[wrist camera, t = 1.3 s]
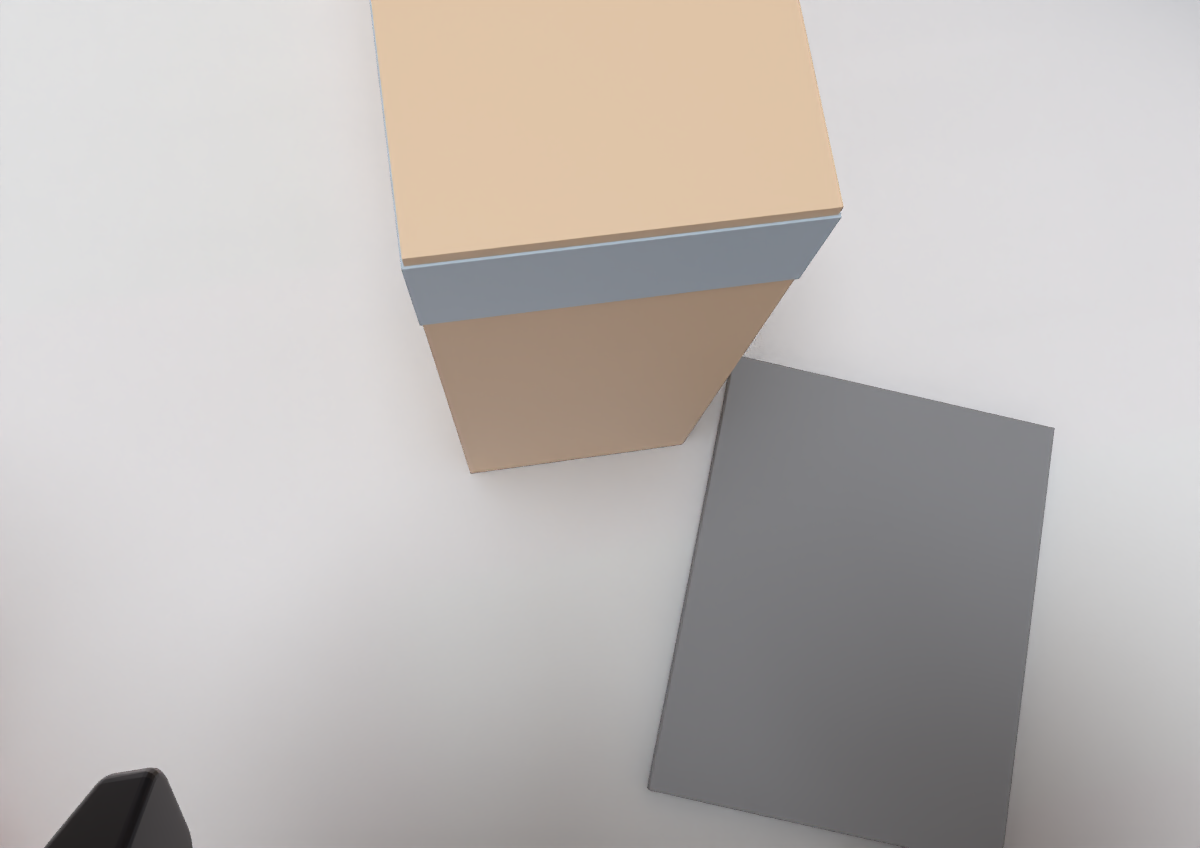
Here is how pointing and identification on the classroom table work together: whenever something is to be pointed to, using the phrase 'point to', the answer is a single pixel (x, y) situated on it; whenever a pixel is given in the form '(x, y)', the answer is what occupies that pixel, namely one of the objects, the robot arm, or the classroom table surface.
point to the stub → (598, 206)
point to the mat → (857, 612)
